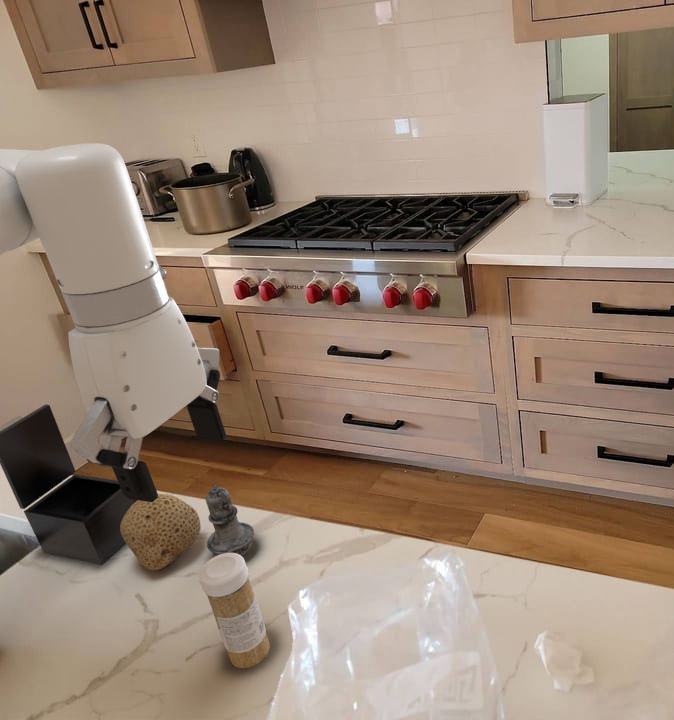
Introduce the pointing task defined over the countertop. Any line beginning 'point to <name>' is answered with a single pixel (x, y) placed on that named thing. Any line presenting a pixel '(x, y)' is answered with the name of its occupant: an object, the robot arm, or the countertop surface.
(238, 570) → the sprinkles bottle
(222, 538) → the grey chess piece
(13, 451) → the lid
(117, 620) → the countertop surface
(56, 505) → the black open box
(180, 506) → the natural sponge
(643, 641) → the countertop surface
